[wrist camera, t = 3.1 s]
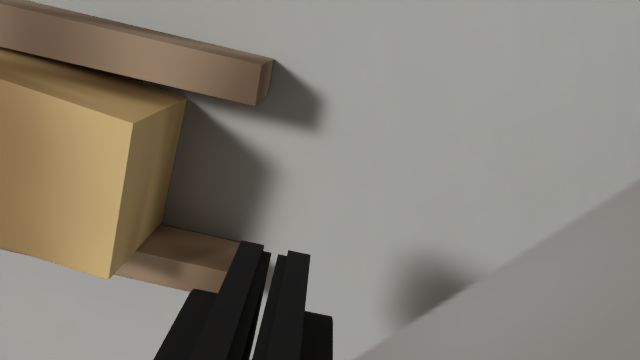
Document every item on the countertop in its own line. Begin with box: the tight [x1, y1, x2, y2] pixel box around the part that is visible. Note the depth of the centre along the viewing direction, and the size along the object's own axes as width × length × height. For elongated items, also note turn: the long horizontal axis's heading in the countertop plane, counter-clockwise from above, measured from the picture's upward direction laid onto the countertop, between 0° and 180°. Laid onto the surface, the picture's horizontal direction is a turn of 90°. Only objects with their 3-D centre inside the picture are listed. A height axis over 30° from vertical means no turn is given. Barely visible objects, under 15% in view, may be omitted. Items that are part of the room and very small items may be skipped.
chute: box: [0, 0, 274, 293], centre depth 14 cm, size 12×8×2 cm
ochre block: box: [0, 47, 187, 280], centre depth 13 cm, size 7×5×4 cm
